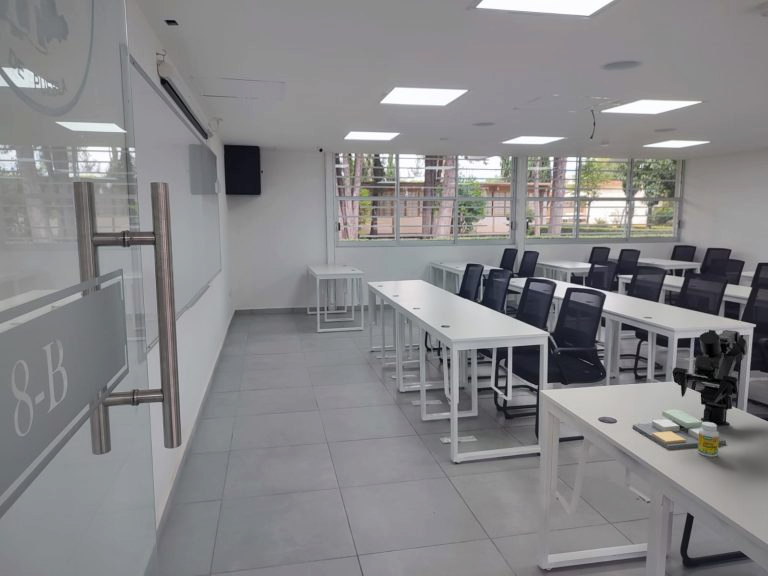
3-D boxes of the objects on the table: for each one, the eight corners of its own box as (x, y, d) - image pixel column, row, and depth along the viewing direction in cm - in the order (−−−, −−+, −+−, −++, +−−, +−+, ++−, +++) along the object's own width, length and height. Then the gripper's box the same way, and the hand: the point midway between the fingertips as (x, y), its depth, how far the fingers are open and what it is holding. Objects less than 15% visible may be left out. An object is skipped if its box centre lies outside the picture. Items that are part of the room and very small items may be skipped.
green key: (677, 417, 190) (677, 409, 189) (702, 430, 178) (702, 421, 178) (662, 418, 189) (662, 410, 188) (686, 431, 177) (686, 423, 177)
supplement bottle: (714, 450, 166) (716, 421, 165) (720, 458, 161) (722, 428, 159) (695, 448, 167) (697, 420, 166) (700, 456, 162) (702, 426, 161)
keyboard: (685, 423, 188) (686, 415, 188) (725, 443, 171) (726, 435, 170) (632, 427, 185) (632, 419, 185) (667, 449, 167) (668, 440, 167)
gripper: (676, 343, 181) (663, 376, 173) (741, 352, 168) (729, 388, 160) (681, 365, 186) (668, 398, 179) (743, 375, 173) (732, 412, 165)
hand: (697, 399), depth 170 cm, fingers open, 9 cm apart
